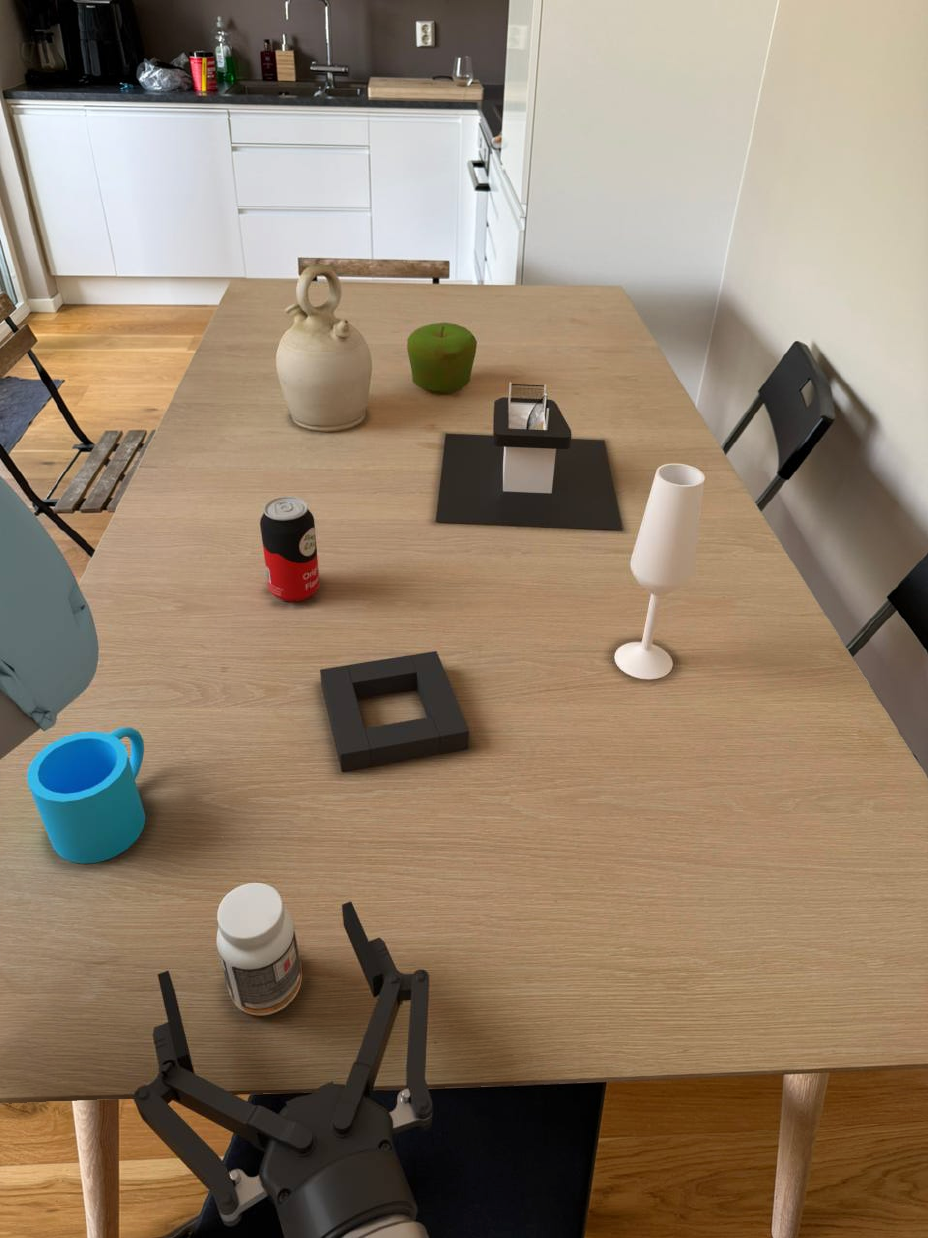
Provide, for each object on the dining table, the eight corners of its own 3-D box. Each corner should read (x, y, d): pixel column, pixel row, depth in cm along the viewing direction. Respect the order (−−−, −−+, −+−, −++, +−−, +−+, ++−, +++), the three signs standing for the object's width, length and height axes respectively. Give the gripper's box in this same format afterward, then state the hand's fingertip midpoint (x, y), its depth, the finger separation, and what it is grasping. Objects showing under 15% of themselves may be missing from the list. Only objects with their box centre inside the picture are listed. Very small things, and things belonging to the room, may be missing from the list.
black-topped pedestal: (622, 530, 125) (636, 443, 117) (435, 522, 125) (436, 435, 117) (604, 440, 147) (614, 362, 139) (445, 434, 147) (447, 355, 139)
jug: (270, 407, 154) (253, 256, 138) (354, 392, 159) (347, 246, 144) (298, 444, 143) (284, 285, 128) (387, 427, 149) (383, 273, 133)
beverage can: (275, 610, 108) (264, 525, 101) (264, 581, 113) (253, 499, 105) (325, 599, 110) (318, 516, 103) (313, 572, 114) (305, 490, 107)
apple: (419, 370, 168) (419, 310, 161) (482, 378, 166) (484, 318, 159) (398, 396, 159) (397, 333, 152) (464, 405, 156) (466, 342, 149)
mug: (111, 874, 77) (89, 812, 72) (31, 850, 79) (5, 788, 74) (184, 776, 86) (170, 715, 82) (111, 756, 88) (93, 695, 83)
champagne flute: (610, 672, 101) (642, 485, 86) (618, 637, 106) (649, 454, 91) (670, 684, 99) (713, 496, 85) (675, 648, 104) (716, 464, 90)
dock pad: (341, 772, 87) (340, 754, 86) (321, 686, 97) (319, 669, 96) (468, 748, 91) (469, 731, 89) (436, 667, 100) (436, 650, 99)
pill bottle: (316, 967, 71) (306, 892, 65) (275, 1031, 67) (261, 957, 61) (256, 940, 73) (241, 865, 67) (213, 1001, 69) (193, 926, 62)
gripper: (148, 1390, 49) (94, 1042, 64) (545, 1176, 58) (415, 915, 73) (120, 1351, 44) (69, 985, 59) (555, 1124, 53) (415, 857, 68)
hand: (260, 946), depth 66 cm, fingers open, 13 cm apart
